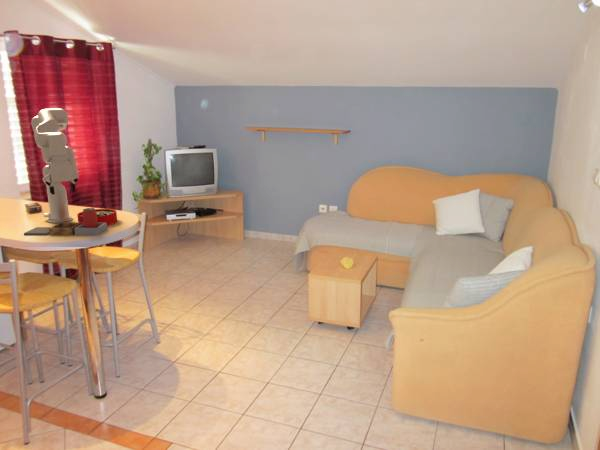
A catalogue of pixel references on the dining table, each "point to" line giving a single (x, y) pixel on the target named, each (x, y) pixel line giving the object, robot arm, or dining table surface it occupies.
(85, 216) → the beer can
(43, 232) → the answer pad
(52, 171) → the robot arm
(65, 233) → the walnut frame
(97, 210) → the red round tin
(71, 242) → the dining table surface
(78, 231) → the slate frame
